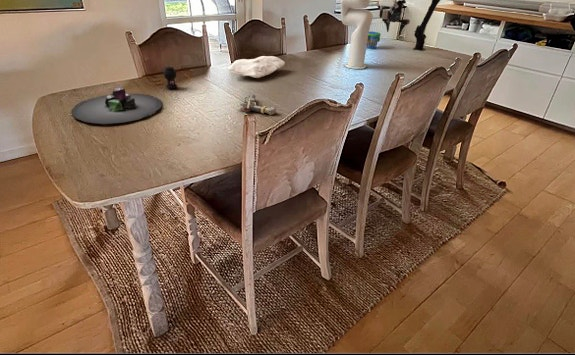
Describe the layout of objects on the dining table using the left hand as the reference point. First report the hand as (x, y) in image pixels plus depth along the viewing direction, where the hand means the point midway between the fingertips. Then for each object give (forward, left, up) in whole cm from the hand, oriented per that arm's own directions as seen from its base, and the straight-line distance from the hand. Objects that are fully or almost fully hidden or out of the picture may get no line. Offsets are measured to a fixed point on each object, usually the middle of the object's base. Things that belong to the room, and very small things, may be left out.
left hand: (384, 17), depth 233 cm
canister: (0, 0, 0) cm, 0 cm away
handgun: (+125, -20, -23) cm, 128 cm away
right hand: (-33, +1, -14) cm, 36 cm away
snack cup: (-16, -10, -23) cm, 30 cm away
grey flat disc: (+157, -69, -23) cm, 173 cm away
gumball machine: (+126, -68, -23) cm, 145 cm away
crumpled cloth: (+84, -46, -23) cm, 99 cm away
